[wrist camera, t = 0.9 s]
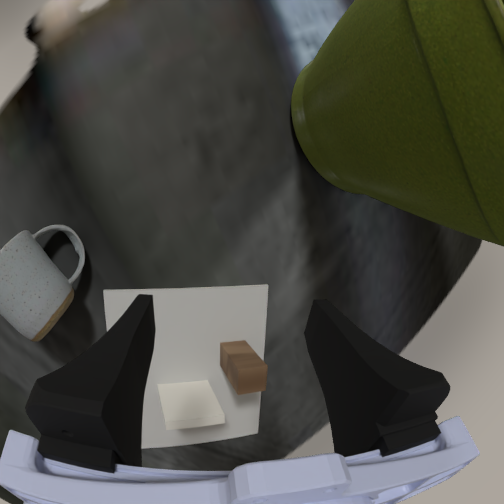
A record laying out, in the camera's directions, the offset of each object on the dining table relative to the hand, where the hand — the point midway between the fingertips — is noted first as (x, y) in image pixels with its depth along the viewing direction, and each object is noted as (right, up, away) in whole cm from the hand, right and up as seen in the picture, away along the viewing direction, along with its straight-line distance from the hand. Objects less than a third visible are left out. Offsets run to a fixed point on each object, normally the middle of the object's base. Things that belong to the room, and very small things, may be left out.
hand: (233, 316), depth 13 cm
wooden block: (-1, -9, +21) cm, 23 cm away
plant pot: (+14, +20, +23) cm, 33 cm away
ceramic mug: (-21, +1, +13) cm, 24 cm away
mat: (-6, -12, +20) cm, 24 cm away
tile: (-7, -13, +20) cm, 25 cm away
